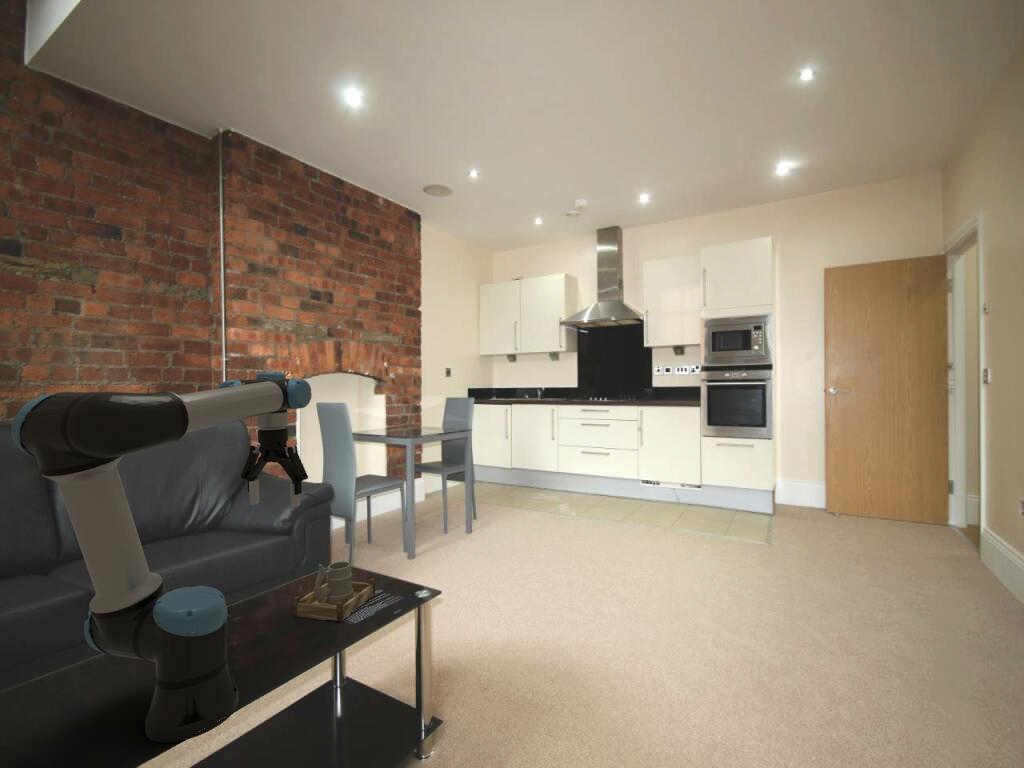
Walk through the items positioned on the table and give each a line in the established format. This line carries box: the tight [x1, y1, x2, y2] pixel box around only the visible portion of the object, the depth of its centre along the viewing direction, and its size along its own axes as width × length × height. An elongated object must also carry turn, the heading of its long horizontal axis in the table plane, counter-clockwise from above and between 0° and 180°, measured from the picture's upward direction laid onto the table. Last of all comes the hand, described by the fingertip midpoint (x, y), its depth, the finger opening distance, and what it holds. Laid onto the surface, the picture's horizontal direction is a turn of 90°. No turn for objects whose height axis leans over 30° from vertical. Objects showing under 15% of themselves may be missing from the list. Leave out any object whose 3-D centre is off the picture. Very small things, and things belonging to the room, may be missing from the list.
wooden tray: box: [292, 578, 376, 621], centre depth 142 cm, size 17×15×5 cm
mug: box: [313, 560, 354, 604], centre depth 142 cm, size 8×12×12 cm, turn 143°
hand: (274, 505), depth 136 cm, fingers open, 13 cm apart
